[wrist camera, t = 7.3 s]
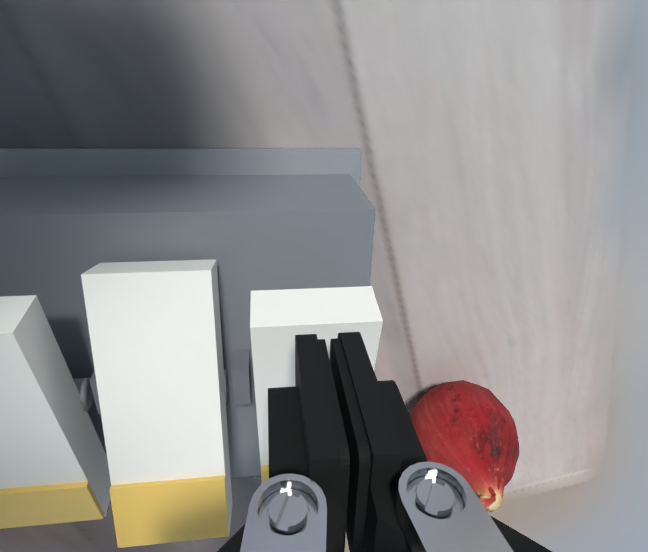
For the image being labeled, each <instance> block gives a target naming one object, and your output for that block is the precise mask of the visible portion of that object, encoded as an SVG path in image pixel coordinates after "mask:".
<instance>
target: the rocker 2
mask: <svg viewBox="0 0 648 552" xmlns="http://www.w3.org/2000/svg"><path fill="white" fill-rule="evenodd" d="M81 278H82V285H83V292H84V299H85V306H86V313H87V320H88V327H89V334H90V341H91V348H92V355H93V362H94V369H95V376H96V383H97V390H98V397H99V404H100V411H101V418H102V425H103V431H104V438H105V445H106V452H107V459H108V466H109V473H110V480H111V487H110V489H109V491H110V498H111V505H112V512H113V519H114V526H115V532H116V539H117V546H118V548H123V547H132V546H142V545H151V544H161V543H171V542H180V541H190V540H200V539H209V538H219V537H228V536H229V534H230V524H231V514H232V490H231V474H230V459H229V444H228V428H227V413H226V402H227V392H228V382H227V371H226V370H224V367H223V351H222V336H221V321H220V305H219V290H218V274H217V259H210V260H177V261H143V262H109V263H99V264H97V265H96V266H94V267H92V268H91V269H89V270H87V271H86V272H84V273H82V274H81Z"/></svg>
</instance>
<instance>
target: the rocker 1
mask: <svg viewBox="0 0 648 552" xmlns="http://www.w3.org/2000/svg"><path fill="white" fill-rule="evenodd" d="M89 380H90V378H75V379H73V378H72V375H71V373H70V371H69V369H68V366H67V364H66V362H65V359H64V357H63V355H62V353H61V350H60V348H59V346H58V343H57V341H56V339H55V336H54V334H53V332H52V330H51V327H50V325H49V323H48V320H47V318H46V316H45V314H44V311H43V309H42V307H41V304H40V302H39V300H38V297H37V295H27V296H1V297H0V529H5V528H15V527H25V526H36V525H46V524H57V523H67V522H77V521H88V520H98V519H103V518H104V516H106V514H107V510H108V506H109V503H110V499H111V498H110V491H109V489H110V487H111V480H110V473H109V466H108V459H107V456H106V453H105V451H104V449H103V447H102V444H101V442H100V440H99V437H98V435H97V433H96V431H95V428H94V426H93V424H92V421H91V419H90V417H89V414H88V412H87V411H88V410H89V409H90V407H91V405H92V401H93V392H92V389H91V385H90V381H89Z"/></svg>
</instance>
